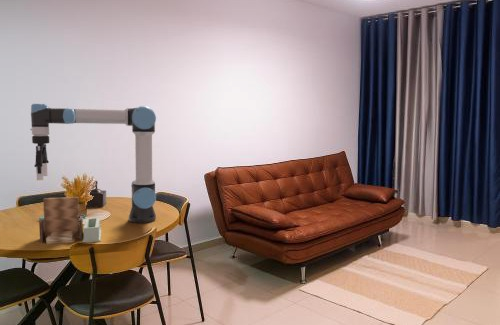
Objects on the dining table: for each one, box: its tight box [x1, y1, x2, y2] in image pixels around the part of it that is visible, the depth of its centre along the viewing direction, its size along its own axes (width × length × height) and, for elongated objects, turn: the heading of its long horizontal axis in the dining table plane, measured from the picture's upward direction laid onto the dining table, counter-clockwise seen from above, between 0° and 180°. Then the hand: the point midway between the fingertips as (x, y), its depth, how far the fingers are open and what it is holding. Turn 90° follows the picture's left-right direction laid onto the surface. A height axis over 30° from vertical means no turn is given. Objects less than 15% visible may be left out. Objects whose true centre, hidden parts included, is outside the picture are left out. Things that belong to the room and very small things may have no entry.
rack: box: [38, 216, 84, 244], centre depth 192 cm, size 18×8×10 cm, turn 109°
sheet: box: [42, 196, 80, 241], centre depth 192 cm, size 15×2×20 cm, turn 109°
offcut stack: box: [45, 231, 77, 245], centre depth 189 cm, size 12×5×4 cm, turn 108°
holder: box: [81, 217, 102, 243], centre depth 197 cm, size 8×19×7 cm, turn 19°
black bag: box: [86, 180, 107, 208], centre depth 260 cm, size 16×11×18 cm
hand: (42, 178), depth 199 cm, fingers open, 13 cm apart
